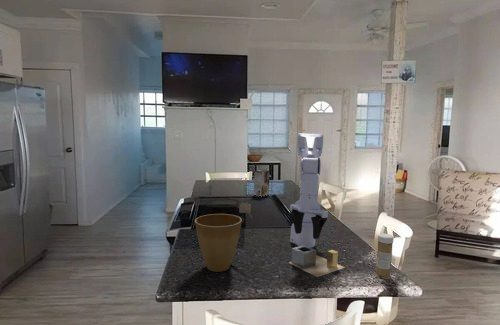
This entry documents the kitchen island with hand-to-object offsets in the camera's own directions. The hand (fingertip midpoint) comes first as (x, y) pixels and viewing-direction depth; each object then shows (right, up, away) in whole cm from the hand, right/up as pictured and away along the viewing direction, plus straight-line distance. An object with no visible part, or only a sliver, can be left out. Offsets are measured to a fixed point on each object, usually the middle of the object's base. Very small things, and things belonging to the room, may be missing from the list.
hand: (306, 235), depth 114 cm
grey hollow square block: (-1, -10, +1) cm, 10 cm away
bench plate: (+3, -11, +1) cm, 11 cm away
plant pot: (-29, -10, 0) cm, 31 cm away
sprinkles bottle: (+23, -12, -4) cm, 27 cm away
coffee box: (-11, +3, +112) cm, 113 cm away
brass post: (+8, -11, 0) cm, 14 cm away
